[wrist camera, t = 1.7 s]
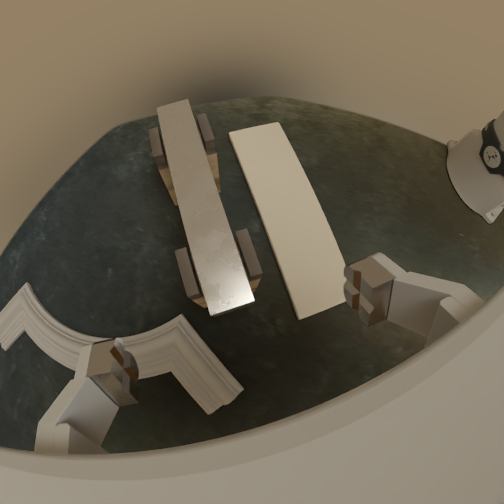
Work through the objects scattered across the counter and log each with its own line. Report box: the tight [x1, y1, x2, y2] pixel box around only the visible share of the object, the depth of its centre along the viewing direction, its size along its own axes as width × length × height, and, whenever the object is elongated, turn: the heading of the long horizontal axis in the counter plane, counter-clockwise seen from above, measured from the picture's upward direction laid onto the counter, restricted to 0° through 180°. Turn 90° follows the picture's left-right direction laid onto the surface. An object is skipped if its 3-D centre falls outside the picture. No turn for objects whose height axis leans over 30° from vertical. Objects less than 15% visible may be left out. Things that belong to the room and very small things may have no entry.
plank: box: [229, 122, 347, 320], centre depth 36 cm, size 8×28×1 cm, turn 19°
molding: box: [0, 282, 244, 415], centre depth 29 cm, size 42×12×3 cm, turn 85°
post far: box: [149, 113, 221, 206], centre depth 31 cm, size 6×4×12 cm, turn 109°
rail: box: [157, 99, 255, 317], centre depth 25 cm, size 4×22×4 cm, turn 19°
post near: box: [175, 228, 263, 308], centre depth 28 cm, size 6×4×12 cm, turn 109°
